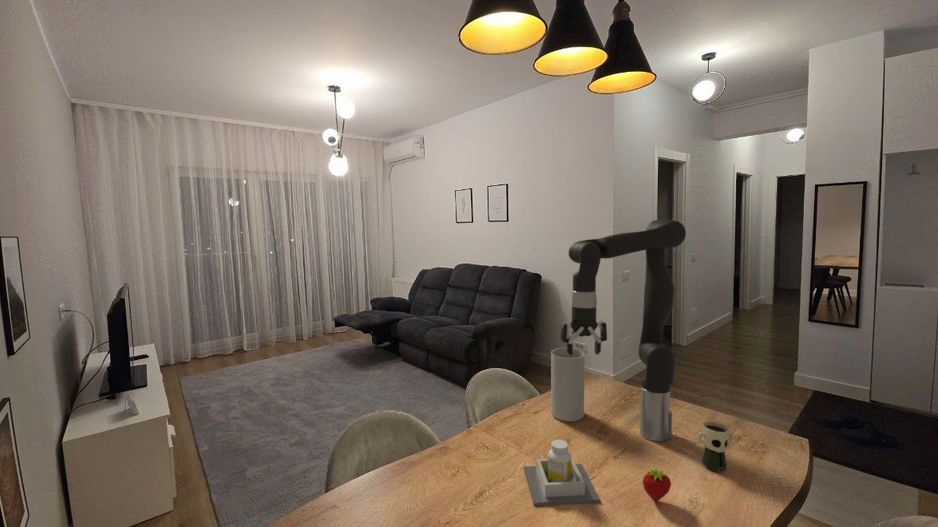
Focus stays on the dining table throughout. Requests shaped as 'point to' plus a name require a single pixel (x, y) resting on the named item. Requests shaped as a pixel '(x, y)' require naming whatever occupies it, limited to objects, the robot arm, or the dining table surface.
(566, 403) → the cylinder vase
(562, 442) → the pill bottle
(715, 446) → the character mug
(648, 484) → the strawberry
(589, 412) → the dining table surface
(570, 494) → the bottle holder
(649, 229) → the robot arm
